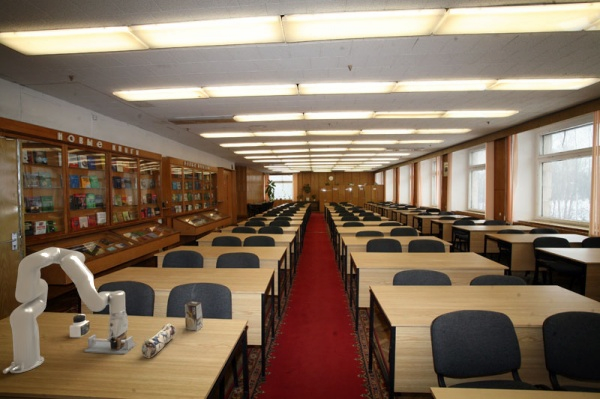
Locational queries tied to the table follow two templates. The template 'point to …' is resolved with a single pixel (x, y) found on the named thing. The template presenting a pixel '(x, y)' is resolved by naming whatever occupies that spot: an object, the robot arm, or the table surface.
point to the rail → (108, 346)
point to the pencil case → (158, 341)
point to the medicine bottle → (79, 326)
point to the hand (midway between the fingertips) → (118, 344)
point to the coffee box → (193, 315)
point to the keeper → (119, 338)
